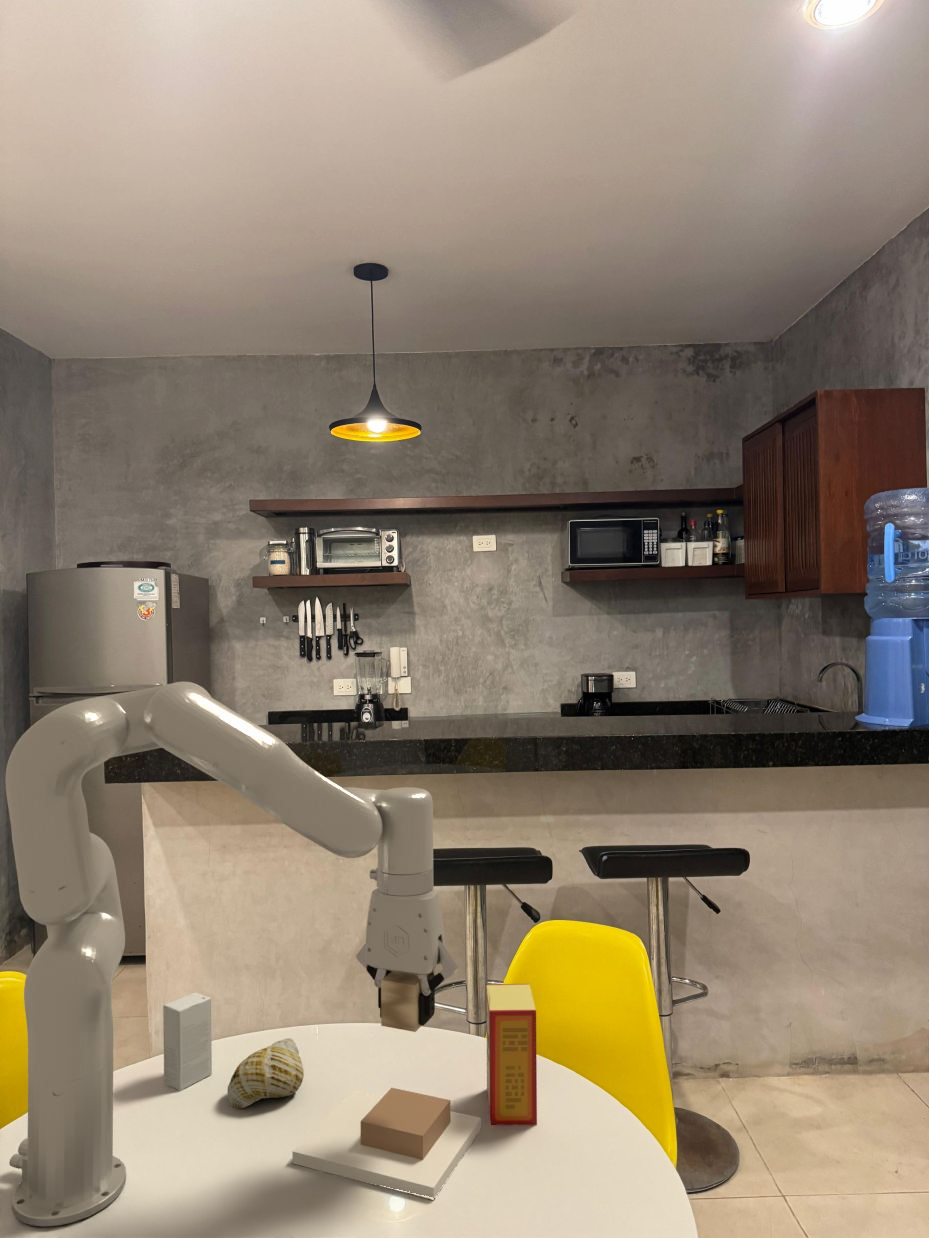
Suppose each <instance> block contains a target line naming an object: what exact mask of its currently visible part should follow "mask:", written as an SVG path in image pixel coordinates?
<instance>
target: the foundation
mask: <svg viewBox="0 0 929 1238" xmlns="http://www.w3.org/2000/svg"><path fill="white" fill-rule="evenodd" d="M481 1130H482V1118H481V1117H477V1116H474V1115H473V1116H472V1115H468V1114H463V1113H459V1112H454V1111H451V1099H448V1098H447V1099H446V1098H441V1097H437V1096H433V1095H429V1094H428V1095H427V1094H423V1093H418V1092H414V1091H409V1090H405V1089H401V1088H395V1087H391V1088H390V1089H389V1090H388V1091H387V1092H386V1093H385V1094H384V1095H383V1096H381V1095H377V1094H373V1093H367V1092H363V1091H359V1090H355V1089H354V1090H352V1091H351V1092H350V1093H349V1094H348V1095H347V1096H346V1097H345V1098H344V1099H343V1100H342V1101H341V1102H340V1103H339V1104H338V1105H337V1106H336V1107H335V1108H334V1109H333V1110H332V1111H331V1112H330V1113H329V1114H328V1115H327V1116H326V1117H325V1118H324V1120H322V1121H321V1122H319V1124H318V1125H317V1126H316V1127H314V1129H313V1130H312V1131H311V1132H310V1133H309V1134H308V1135H307V1136H306V1137H305V1138H304V1139H303V1140H302V1141H301V1142H300V1143H299V1144H298V1145H297V1146H296V1147H295V1148H294V1149H293V1150H292V1160H291V1161H292V1164H295V1165H298V1166H302V1167H306V1168H309V1169H313V1170H317V1171H320V1172H323V1173H324V1172H325V1173H329V1174H332V1175H334V1176H335V1175H337V1176H340V1177H343V1178H347V1179H351V1180H355V1181H358V1180H359V1181H358V1182H363V1183H366V1182H368V1183H367V1184H369V1183H372V1184H371V1185H373V1184H376V1185H375V1186H377V1185H379V1186H378V1187H381V1186H380V1185H382V1186H386V1187H390V1188H393V1189H399V1190H403V1191H407V1192H409V1191H410V1193H416V1194H419V1195H424V1196H425V1195H426V1196H429V1197H433V1198H434V1197H435V1196H436V1195H437V1193H438V1192H439V1190H440V1188H441V1187H442V1185H443V1184H444V1183H445V1181H446V1180H447V1178H448V1177H449V1175H450V1174H451V1172H452V1171H453V1170H454V1171H455V1169H456V1168H457V1166H458V1165H457V1163H458V1162H459V1161H460V1162H461V1160H462V1159H463V1157H464V1156H465V1154H466V1153H467V1151H468V1150H469V1148H470V1147H471V1145H472V1144H473V1142H474V1140H475V1139H476V1137H477V1136H478V1135H479V1133H480V1131H481ZM469 1146H470V1147H469ZM465 1152H466V1153H465ZM464 1153H465V1154H464ZM463 1155H464V1156H463ZM462 1156H463V1157H462ZM461 1158H462V1159H461ZM460 1159H461V1160H460ZM460 1162H459V1163H460ZM459 1163H458V1164H459ZM456 1165H457V1166H456ZM455 1167H456V1168H455ZM454 1168H455V1169H454ZM454 1171H453V1172H454ZM453 1172H452V1173H453ZM451 1175H452V1174H451ZM451 1175H450V1176H451ZM449 1178H450V1177H449ZM449 1178H448V1179H449ZM447 1181H448V1180H447ZM447 1181H446V1182H447ZM445 1184H446V1183H445ZM445 1184H444V1185H445ZM442 1188H443V1187H442ZM440 1191H441V1190H440ZM439 1193H440V1192H439ZM437 1196H438V1195H437Z"/></svg>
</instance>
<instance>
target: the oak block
mask: <svg viewBox="0 0 929 1238" xmlns="http://www.w3.org/2000/svg"><path fill="white" fill-rule="evenodd" d="M420 994H421V986H420V982H419V978H418V975H416V974H409V973H402V972H396V971H392V972H391V973H389V974H388V975H387V976H386V977H384V978H383V979H382V980H381V1018H380V1020H381V1022H380V1024H381V1027H385V1028H392V1029H397V1030H403V1031H408V1032H413V1033H416V1032H417V1031H418V1030H419V1029H420V1028H421V1027H423V1025H419V1008H418V997H419V995H420Z"/></svg>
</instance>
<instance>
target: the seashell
mask: <svg viewBox="0 0 929 1238" xmlns="http://www.w3.org/2000/svg"><path fill="white" fill-rule="evenodd" d="M304 1075H305V1074H304V1065H303V1062H302V1058H301V1056H300V1051H299V1049H298V1047H297V1044H296V1043H295V1041H294V1039H293V1038H290V1037H288V1038H283V1039H281V1040H277V1041H275V1042H273V1043H272V1044H271V1045H269V1046H267V1047H264V1048H261V1049H259V1050H257V1051H254V1052H253V1053H251V1054H249V1055H248V1056H247V1057H246V1058H244V1059H243V1060H242V1061H241V1062H240V1063H239V1064H238V1066H237V1067H236V1069H235V1070H234V1072H233V1074H232V1076H231V1077H230V1081H229V1083H228V1085H227V1100H228V1103H229V1104H230V1106H231V1107H233V1108H235V1109H240V1110H241V1109H245V1108H247V1107H249V1106H251V1105H252V1104H253V1103H255V1102H257V1101H260V1100H261V1099H269V1098H275V1099H277V1098H285V1097H289V1096H291V1095H294V1094H295V1093H296V1092H298V1090H299V1088H300V1087H301V1085H302V1083H303V1081H304V1077H305V1076H304Z"/></svg>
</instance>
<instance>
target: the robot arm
mask: <svg viewBox="0 0 929 1238" xmlns="http://www.w3.org/2000/svg"><path fill="white" fill-rule="evenodd" d="M161 748H162V749H164V750H165V751H167V752H169V753H171V754H172V755H174V756H175V757H177V758H179V759H180V760H182V761H185V762H186V764H187V763H188V764H189V765H191V766H193V767H194V768H196V769H198V770H199V771H201V772H203V773H205V774H206V775H209V776H210V777H212V779H213V778H214V779H215V780H217V781H218V782H220V783H222V785H225V786H227V787H229V788H230V789H232V790H233V791H235V792H237V793H238V794H240V795H241V796H243V797H244V798H245V799H247V800H248V801H249V802H250V803H252V804H253V805H254V806H256V807H258V808H260V809H261V810H263V811H264V812H266V813H267V814H269V815H270V816H272V817H274V818H275V819H276V820H278V821H279V822H281V823H282V824H283V825H285V826H286V827H288V828H290V829H291V830H293V831H294V832H296V833H297V834H299V835H301V836H302V837H304V838H306V839H308V840H309V841H311V842H313V843H315V844H316V845H318V846H320V847H321V848H323V849H324V850H326V851H328V852H330V853H332V854H334V855H336V856H338V857H342V858H345V859H346V858H347V859H358V858H362V857H364V856H366V855H368V854H370V853H371V852H372V851H373V850H374V849H375V848H376V847H377V867H376V869H374V868H371V869H370V871H369V879H370V880H374V881H376V887H377V888H375V889H373V890H372V891H371V895H370V898H369V899H370V901H369V905H368V913H367V917H366V918H367V919H366V929H365V930H366V931H365V943H364V944H363V946H362V947H361V948H360V950H359V951H358V952H357V954H356V955H355V957H356V960H357V961H358V962H359V963H360V964H361V965H362V967H364V968H365V969H366V971H367V973H368V975H369V976H370V977H371V978H372V980H373V981H374V982H373V983H374V986H375V987H376V988H377V1006H378V1009H379V1018H380V1019H381V980H382V979H383V978H384V977H386V976H387V975H388V974H389V973H391V972H392V971H396V972H402V973H409V974H416V975H418V978H419V982H420V986H421V994H420V995H419V997H418V1008H419V1025H422V1027H423V1026H425V1025H426V1024H427V1023H428V1022H429V1021H430V1020H431V1019H432V1017H433V1016H434V1014H435V1012H436V1011H435V1010H436V1003H435V1002H436V1000H435V999H436V997H435V996H436V992H435V990H436V989H437V988H438V987H439V986H440V985H441V984H442V983H443V982H445V981H446V980H447V979H448V978H450V977H451V976H453V975H454V974H455V973H456V972H458V970H459V966H458V965H457V963H456V962H455V960H454V958H453V956H452V955H451V954H450V952H449V951H448V949H447V948H446V945H445V931H444V930H445V929H444V920H443V913H442V912H443V911H442V907H441V906H442V905H441V902H440V901H441V900H440V897H439V892H438V890H436V889H434V802H433V797H432V794H431V793H430V792H429V791H428V790H426V789H424V788H420V787H409V786H408V787H406V786H405V787H404V786H403V787H394V788H389V789H371V788H362V787H354V786H353V787H352V786H351V787H342V786H340V785H338V784H337V783H335V782H334V781H332V780H331V779H329V778H327V777H325V776H324V775H323V774H321V773H320V772H319V771H317V770H315V769H314V768H312V767H311V766H310V765H308V764H307V763H306V762H304V761H303V760H302V759H301V758H300V757H299V756H298V755H296V753H295V752H294V751H293V750H292V749H291V748H290V747H289V746H288V745H287V744H286V743H285V742H284V741H283V740H281V739H280V738H279V737H277V736H276V735H275V734H273V733H271V732H269V731H268V730H266V729H264V728H263V727H261V726H259V725H257V724H256V723H254V722H252V721H250V720H249V719H247V718H246V717H244V716H243V715H240V714H239V713H237V712H235V711H234V710H232V709H231V708H229V707H228V706H226V705H225V704H223V703H221V702H219V701H218V700H217V699H215V698H213V697H212V696H211V694H210V693H209V692H208V691H207V690H206V689H205V688H204V687H203V686H201V685H199V684H197V683H194V682H191V681H176V682H172V683H167V684H163V685H158V686H154V687H149V688H143V689H138V690H131V691H126V692H120V693H114V694H108V695H101V696H95V697H90V698H85V699H82V700H77V701H72V702H70V703H68V704H64V705H62V706H60V707H58V708H56V709H55V710H52V711H51V712H50V713H48V714H46V715H44V716H43V717H42V718H40V719H39V720H38V721H36V722H35V723H34V724H33V725H31V726H30V727H29V728H28V729H27V730H26V731H25V732H24V733H23V734H22V735H21V737H19V739H18V740H17V741H16V744H15V745H14V747H13V748H12V750H11V752H10V755H9V758H8V761H7V763H6V770H5V794H6V800H7V807H8V814H9V815H8V816H9V821H10V827H11V828H10V829H11V840H12V841H11V842H12V848H13V854H14V860H15V868H16V875H17V881H18V882H17V883H18V891H19V898H20V902H21V904H22V907H23V910H24V911H25V913H26V914H27V915H28V916H29V918H31V919H32V920H33V921H35V922H37V923H38V924H41V925H44V926H46V933H47V939H45V941H44V942H43V944H42V945H40V946H41V947H40V948H39V949H38V951H37V952H36V954H35V955H34V957H33V958H32V960H31V962H30V965H29V967H28V969H27V973H26V976H25V979H24V980H25V981H24V986H23V987H24V989H23V1002H24V1012H25V1019H26V1030H27V1076H28V1077H27V1137H26V1138H24V1139H23V1140H22V1141H21V1142H20V1144H19V1146H18V1148H17V1153H14V1154H13V1155H12V1156H11V1158H9V1167H13V1168H14V1169H20V1170H21V1182H20V1183H19V1184H18V1185H17V1187H16V1188H15V1190H14V1191H13V1195H12V1198H11V1199H12V1200H11V1201H12V1202H11V1203H12V1206H11V1209H12V1212H13V1215H14V1216H15V1218H16V1219H17V1220H19V1221H21V1222H22V1223H24V1224H28V1225H30V1226H35V1227H55V1226H63V1225H66V1224H72V1223H75V1222H78V1221H80V1220H83V1219H86V1218H88V1217H90V1216H92V1215H94V1214H96V1213H98V1212H99V1211H101V1210H104V1208H106V1207H107V1206H108V1205H109V1204H111V1203H113V1201H114V1200H115V1199H116V1198H117V1197H118V1196H119V1195H120V1194H121V1192H122V1191H123V1189H124V1187H125V1185H126V1181H127V1171H126V1170H127V1168H126V1166H125V1164H124V1162H123V1161H122V1160H121V1159H120V1158H118V1157H116V1156H114V1154H113V1153H114V1152H113V1149H114V1147H113V1145H114V1143H113V1142H114V1137H113V1136H114V1135H113V1134H114V1133H113V1132H114V1130H113V1129H114V1128H113V1127H114V1019H113V1018H114V1017H113V1016H114V1015H113V1007H112V1003H113V1002H112V993H113V992H112V990H113V989H112V987H113V981H114V977H115V975H116V972H117V971H118V966H119V965H120V962H121V960H122V958H123V955H124V950H125V947H126V931H125V924H124V916H123V910H122V904H121V903H122V902H121V897H120V890H119V883H118V877H117V871H116V870H117V869H116V865H115V860H114V857H113V855H112V854H113V853H112V852H111V850H110V848H109V846H108V845H107V844H106V842H105V841H104V840H103V839H102V838H101V837H100V836H98V835H96V834H94V833H93V832H91V831H90V827H89V826H90V825H89V819H88V809H87V804H86V799H85V797H84V793H83V789H82V782H83V778H84V776H85V774H86V773H87V772H89V771H90V770H91V769H93V768H96V767H97V766H99V765H101V764H103V763H104V762H107V761H108V760H109V759H111V758H115V757H120V756H126V755H131V754H136V753H142V752H146V751H151V750H157V749H161ZM437 965H441V966H442V969H441V970H440V971H438V972H437V973H436V966H437Z"/></svg>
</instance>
